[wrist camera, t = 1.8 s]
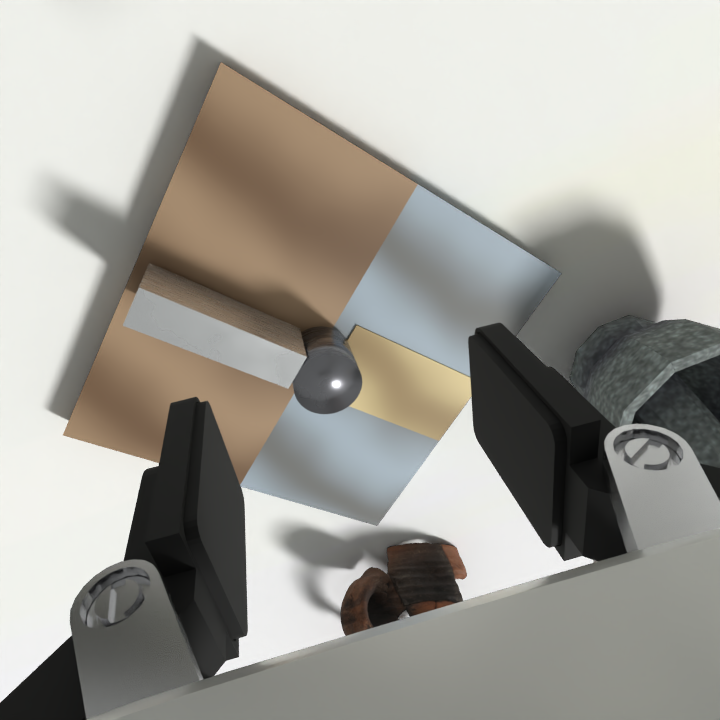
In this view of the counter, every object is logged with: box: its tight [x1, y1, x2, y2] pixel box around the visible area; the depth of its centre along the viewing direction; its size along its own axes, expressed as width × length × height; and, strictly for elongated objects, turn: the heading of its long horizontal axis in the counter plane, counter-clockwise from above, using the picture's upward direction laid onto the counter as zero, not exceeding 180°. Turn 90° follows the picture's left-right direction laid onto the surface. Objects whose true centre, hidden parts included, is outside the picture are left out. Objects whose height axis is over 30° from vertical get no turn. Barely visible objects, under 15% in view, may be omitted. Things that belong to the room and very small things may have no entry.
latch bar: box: [123, 263, 362, 414], centre depth 24 cm, size 11×3×3 cm, turn 59°
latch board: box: [63, 62, 562, 526], centre depth 28 cm, size 19×19×1 cm
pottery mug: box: [341, 543, 467, 636], centre depth 37 cm, size 12×10×8 cm
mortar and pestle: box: [570, 315, 720, 468], centre depth 29 cm, size 11×9×12 cm
